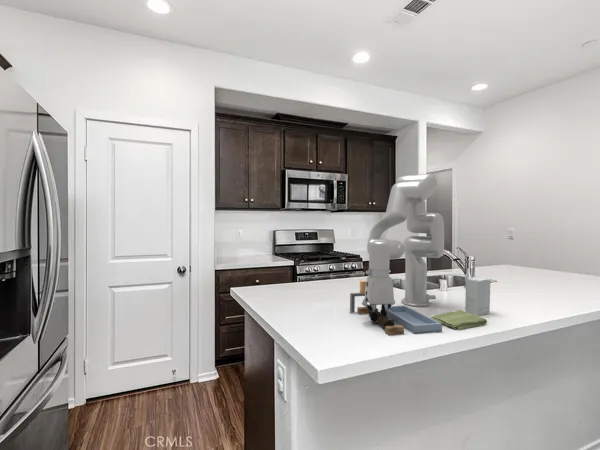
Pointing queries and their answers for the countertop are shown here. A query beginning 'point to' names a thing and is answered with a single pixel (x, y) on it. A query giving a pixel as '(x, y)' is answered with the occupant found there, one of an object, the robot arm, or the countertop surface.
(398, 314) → the tray
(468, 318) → the washcloth
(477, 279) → the skincare box
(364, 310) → the cradle
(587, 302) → the countertop surface
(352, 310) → the gray arch frame
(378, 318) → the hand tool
